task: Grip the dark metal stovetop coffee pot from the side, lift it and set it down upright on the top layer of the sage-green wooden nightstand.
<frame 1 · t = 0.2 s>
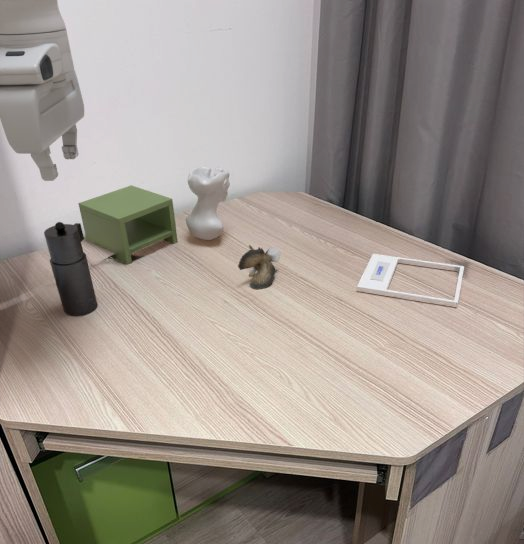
hand: (61, 168, 76), 28 cm above the table, tool pointing down, fingers open, 8 cm apart
photo frame: (411, 281, 103), on the table
nightstand: (133, 244, 120), on the table
anatomical heart: (212, 237, 122), on the table
eagle figurine: (259, 278, 106), on the table
coffee pot: (80, 307, 98), on the table
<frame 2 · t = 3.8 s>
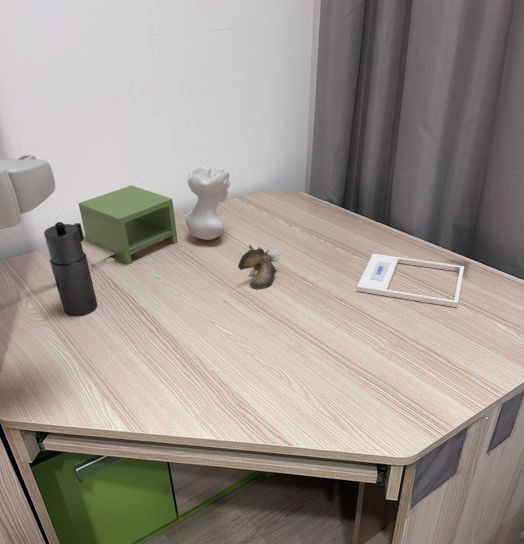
nothing on the table moved.
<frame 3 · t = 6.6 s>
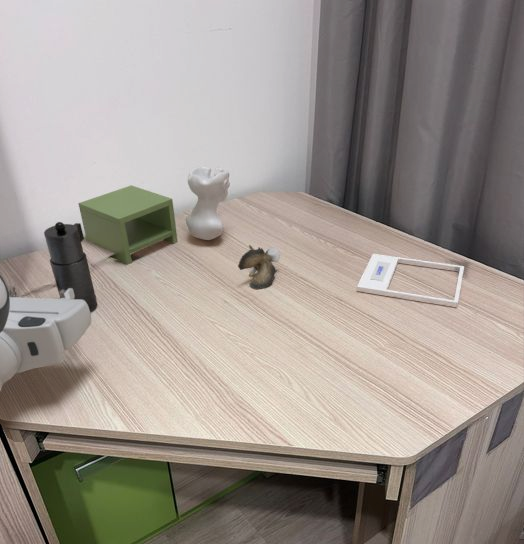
hand: (40, 291, 83), 10 cm above the table, tool horizontal, fingers open, 8 cm apart
nothing on the table moved.
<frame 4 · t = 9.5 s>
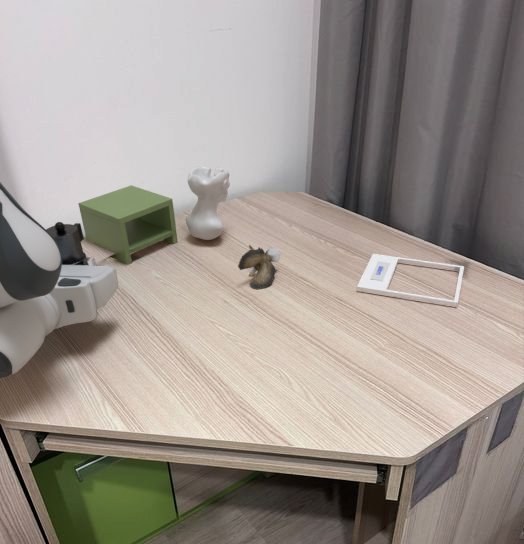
hand: (71, 260, 94), 9 cm above the table, tool horizontal, fingers closed on coffee pot, 6 cm apart
coffee pot: (80, 307, 98), on the table, touching gripper
everything else where it was.
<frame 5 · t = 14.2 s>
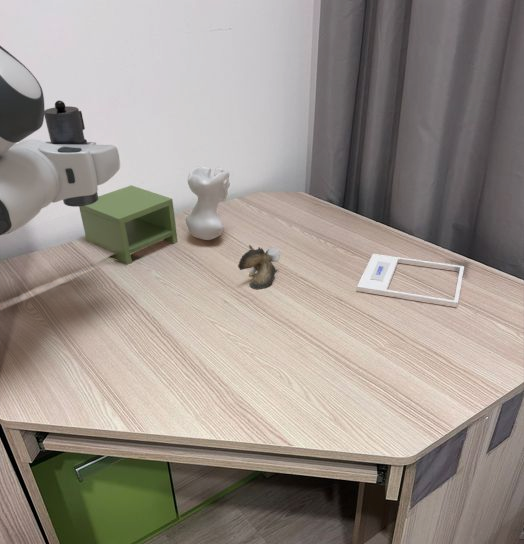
hand: (71, 146, 91), 26 cm above the table, tool horizontal, fingers closed on coffee pot, 6 cm apart
coffee pot: (81, 200, 95), point 17 cm above the table, touching gripper
everything else where it was.
when the fingers open (19 cm above the table, at t = 19.0 s): coffee pot stays where it is, resting on nightstand.
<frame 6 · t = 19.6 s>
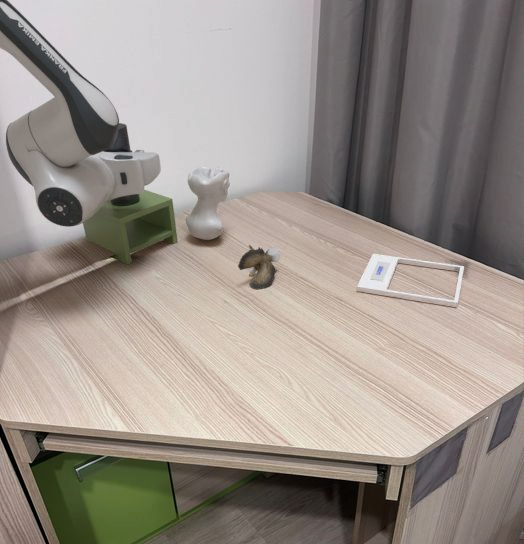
hand: (118, 153, 109), 19 cm above the table, tool horizontal, fingers open, 8 cm apart
coffee pot: (125, 201, 114), point 10 cm above the table, touching nightstand
everything else where it was.
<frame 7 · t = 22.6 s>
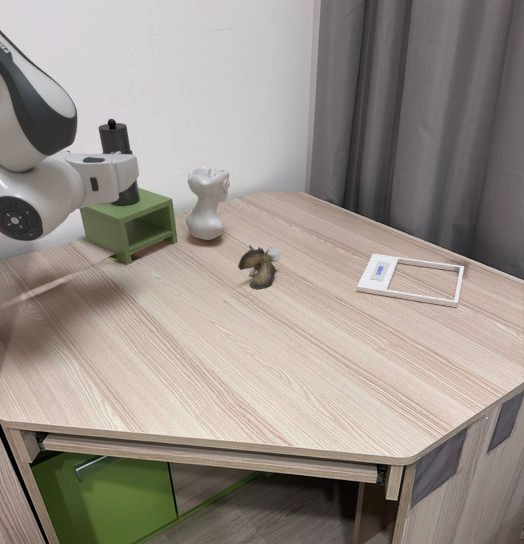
hand: (92, 155, 97), 23 cm above the table, tool horizontal, fingers open, 8 cm apart
nothing on the table moved.
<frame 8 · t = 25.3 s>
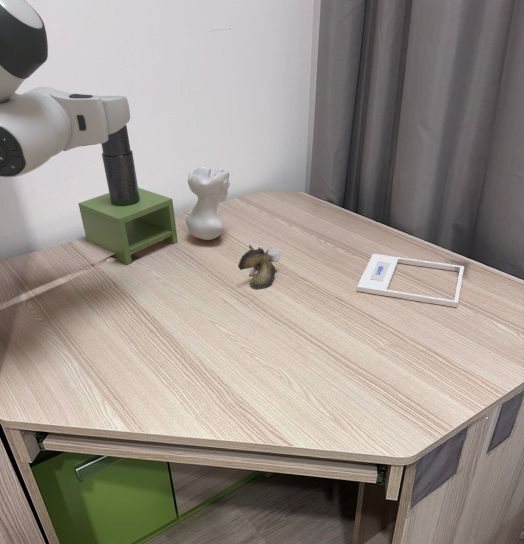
hand: (81, 101, 91), 32 cm above the table, tool horizontal, fingers open, 8 cm apart
nothing on the table moved.
at the end: coffee pot inside the target area on the nightstand (0.1 cm from its centre), point 10.0 cm above the nightstand's base; coffee pot tilted 0°; the gripper is holding nothing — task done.
